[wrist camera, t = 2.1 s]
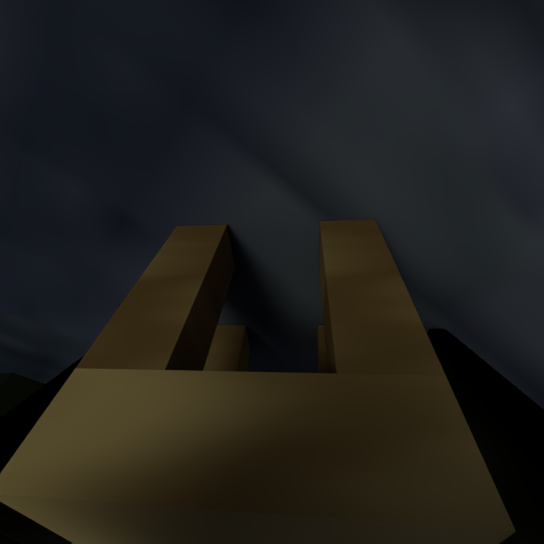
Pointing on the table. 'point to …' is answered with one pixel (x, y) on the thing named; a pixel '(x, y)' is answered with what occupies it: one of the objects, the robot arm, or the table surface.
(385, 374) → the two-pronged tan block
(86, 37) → the table surface
